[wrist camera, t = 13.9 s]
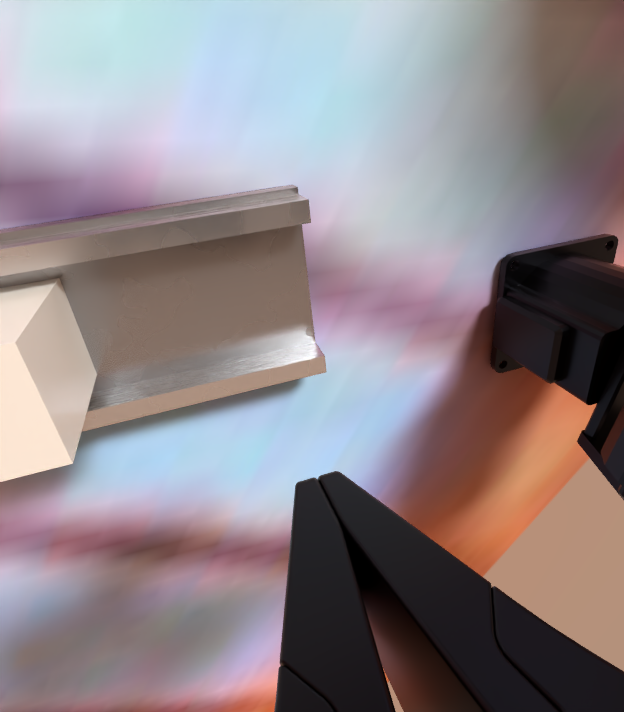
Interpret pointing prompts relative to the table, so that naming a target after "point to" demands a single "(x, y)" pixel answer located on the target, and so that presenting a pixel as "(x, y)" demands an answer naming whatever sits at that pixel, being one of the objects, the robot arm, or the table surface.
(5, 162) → the table surface
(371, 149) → the table surface
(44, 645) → the table surface
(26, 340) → the block
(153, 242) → the rail
